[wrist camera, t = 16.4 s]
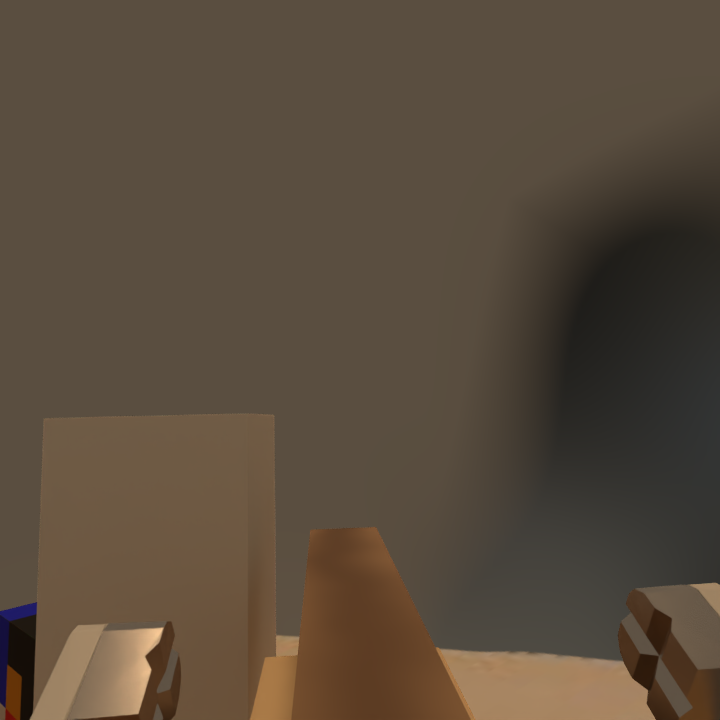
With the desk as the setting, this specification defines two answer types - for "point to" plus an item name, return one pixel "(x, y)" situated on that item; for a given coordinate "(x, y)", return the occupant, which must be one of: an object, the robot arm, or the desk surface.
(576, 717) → the desk surface
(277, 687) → the tower top
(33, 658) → the puzzle toy
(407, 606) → the walnut bar
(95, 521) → the tall beige box
